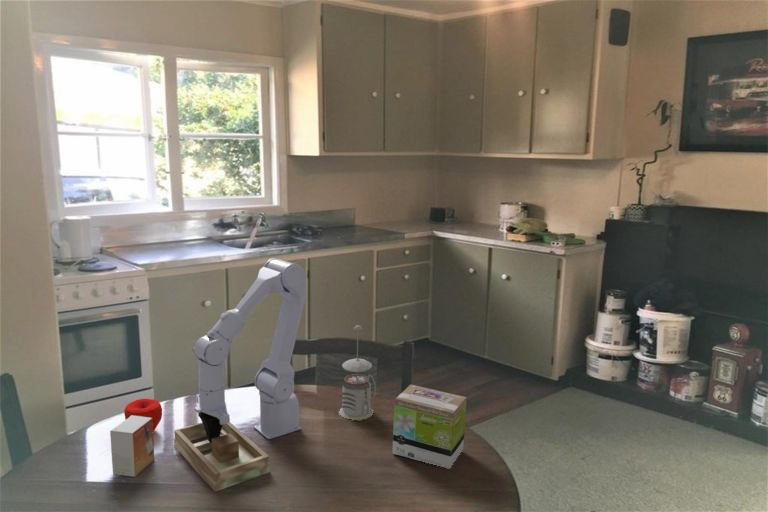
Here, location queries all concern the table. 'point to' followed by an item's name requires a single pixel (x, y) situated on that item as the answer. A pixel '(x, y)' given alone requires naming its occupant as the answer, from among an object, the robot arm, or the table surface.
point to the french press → (360, 405)
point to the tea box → (429, 425)
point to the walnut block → (225, 448)
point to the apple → (145, 410)
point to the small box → (132, 445)
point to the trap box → (211, 470)
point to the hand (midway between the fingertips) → (213, 440)
